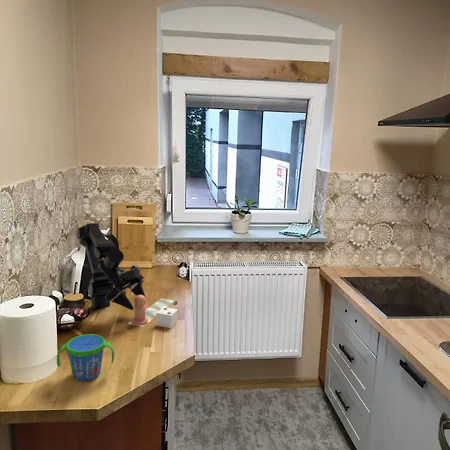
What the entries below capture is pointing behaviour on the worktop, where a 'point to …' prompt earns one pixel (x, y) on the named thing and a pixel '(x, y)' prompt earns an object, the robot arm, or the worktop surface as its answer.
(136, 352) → the worktop surface
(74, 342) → the snack cup
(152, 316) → the board
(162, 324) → the die
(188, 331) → the worktop surface
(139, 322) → the pawn
